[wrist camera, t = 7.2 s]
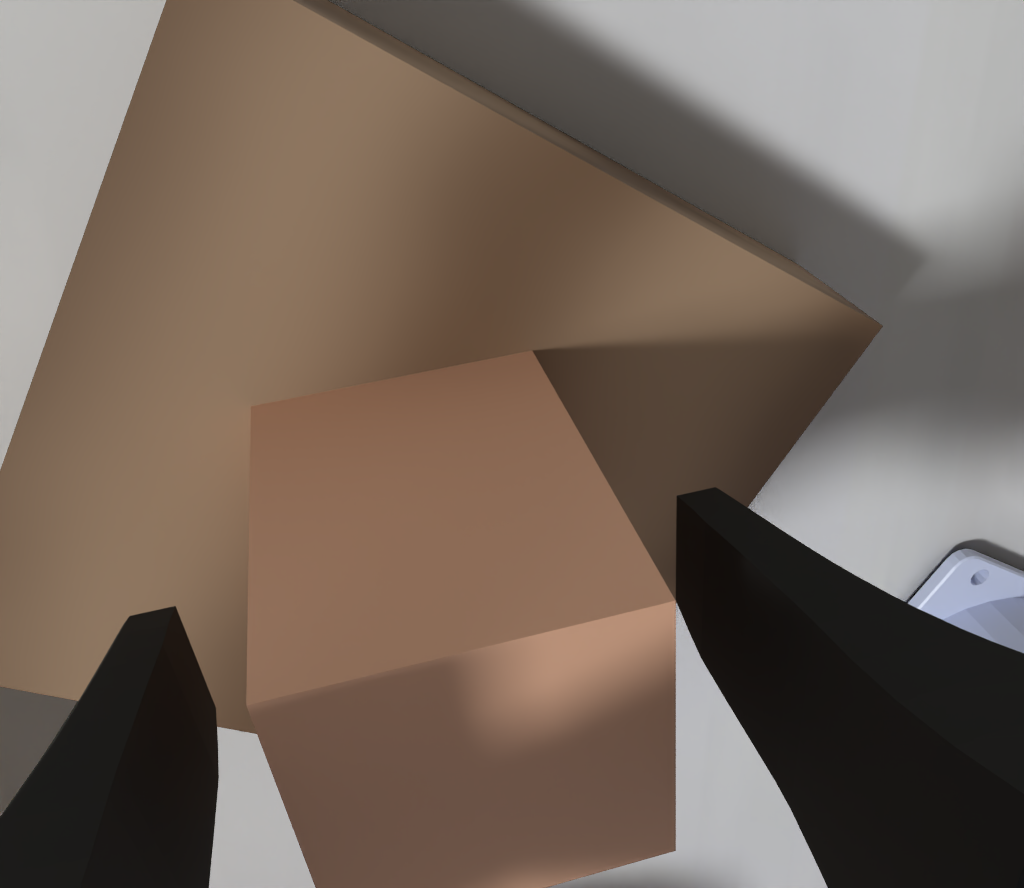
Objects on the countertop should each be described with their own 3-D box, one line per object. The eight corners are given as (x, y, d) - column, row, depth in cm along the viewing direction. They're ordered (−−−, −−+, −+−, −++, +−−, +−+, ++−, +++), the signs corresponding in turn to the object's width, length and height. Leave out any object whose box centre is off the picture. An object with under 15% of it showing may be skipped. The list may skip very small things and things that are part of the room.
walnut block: (797, 264, 18) (882, 325, 16) (508, 685, 23) (539, 785, 20) (201, -71, 13) (186, -59, 11) (-25, 559, 17) (-72, 673, 15)
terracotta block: (532, 350, 14) (675, 600, 9) (552, 562, 17) (676, 850, 12) (250, 406, 14) (246, 705, 9) (313, 618, 16) (338, 947, 11)
